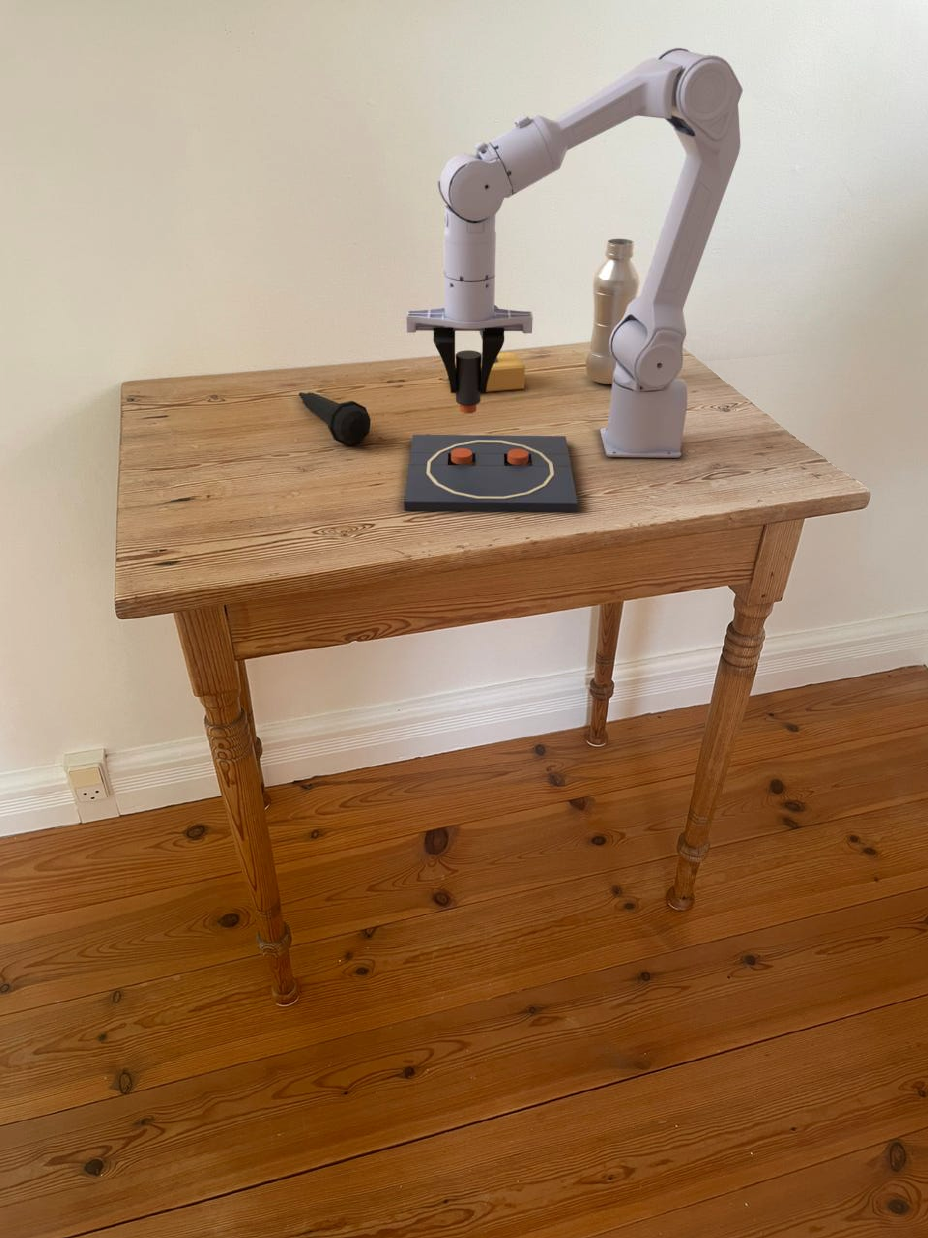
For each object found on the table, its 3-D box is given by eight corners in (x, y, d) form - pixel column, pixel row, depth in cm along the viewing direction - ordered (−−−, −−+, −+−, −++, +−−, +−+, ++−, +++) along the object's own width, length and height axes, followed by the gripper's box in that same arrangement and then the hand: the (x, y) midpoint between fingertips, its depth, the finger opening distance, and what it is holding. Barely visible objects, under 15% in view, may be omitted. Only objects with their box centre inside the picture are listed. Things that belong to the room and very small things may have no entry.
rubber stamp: (514, 375, 140) (517, 295, 133) (524, 389, 136) (528, 307, 129) (450, 380, 138) (450, 299, 131) (458, 395, 134) (458, 312, 127)
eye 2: (527, 455, 116) (528, 448, 115) (528, 465, 114) (529, 457, 113) (507, 455, 116) (507, 448, 115) (507, 465, 114) (508, 457, 113)
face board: (564, 444, 121) (565, 435, 120) (577, 512, 106) (578, 502, 106) (412, 442, 121) (412, 433, 120) (404, 510, 106) (404, 500, 106)
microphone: (293, 421, 133) (349, 458, 118) (275, 385, 130) (331, 419, 115) (324, 402, 135) (384, 437, 119) (308, 367, 131) (367, 398, 116)
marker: (480, 405, 114) (481, 350, 110) (480, 415, 112) (481, 359, 108) (456, 405, 114) (456, 349, 110) (455, 415, 112) (455, 358, 108)
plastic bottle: (631, 389, 136) (648, 248, 124) (585, 389, 136) (598, 247, 124) (626, 373, 141) (642, 235, 129) (582, 372, 141) (593, 235, 130)
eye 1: (472, 455, 116) (472, 447, 115) (472, 464, 114) (472, 457, 113) (451, 455, 116) (451, 447, 115) (451, 464, 114) (451, 457, 113)
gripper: (532, 264, 107) (526, 377, 115) (407, 263, 107) (410, 376, 115) (535, 282, 101) (529, 400, 109) (403, 281, 101) (407, 399, 109)
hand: (468, 389), depth 112 cm, fingers closed on marker, 3 cm apart
